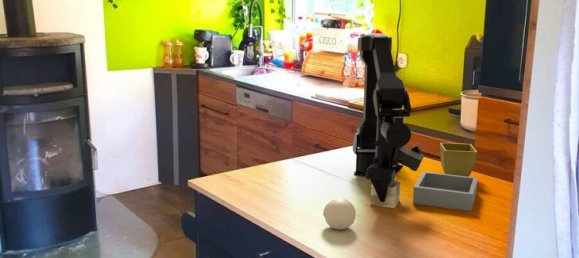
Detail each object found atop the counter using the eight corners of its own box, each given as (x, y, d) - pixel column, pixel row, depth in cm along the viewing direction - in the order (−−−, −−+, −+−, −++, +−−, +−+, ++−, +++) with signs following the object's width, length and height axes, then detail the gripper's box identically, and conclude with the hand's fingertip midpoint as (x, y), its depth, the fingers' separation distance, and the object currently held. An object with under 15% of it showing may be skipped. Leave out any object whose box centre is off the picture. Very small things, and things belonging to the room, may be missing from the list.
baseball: (334, 219, 139) (334, 191, 138) (360, 227, 135) (361, 199, 133) (316, 228, 134) (316, 199, 133) (343, 236, 130) (344, 207, 128)
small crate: (370, 204, 149) (371, 185, 148) (376, 197, 154) (376, 178, 153) (394, 208, 147) (395, 188, 145) (399, 200, 152) (400, 181, 151)
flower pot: (468, 173, 175) (471, 143, 173) (474, 183, 166) (477, 151, 164) (437, 172, 176) (439, 142, 174) (442, 181, 167) (444, 150, 165)
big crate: (412, 203, 150) (413, 186, 149) (422, 186, 163) (423, 171, 162) (471, 211, 145) (472, 194, 144) (476, 193, 158) (477, 177, 157)
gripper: (415, 149, 135) (411, 215, 139) (428, 131, 152) (424, 190, 156) (366, 144, 139) (363, 208, 143) (384, 127, 156) (381, 185, 160)
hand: (385, 197), depth 150 cm, fingers closed on small crate, 6 cm apart
